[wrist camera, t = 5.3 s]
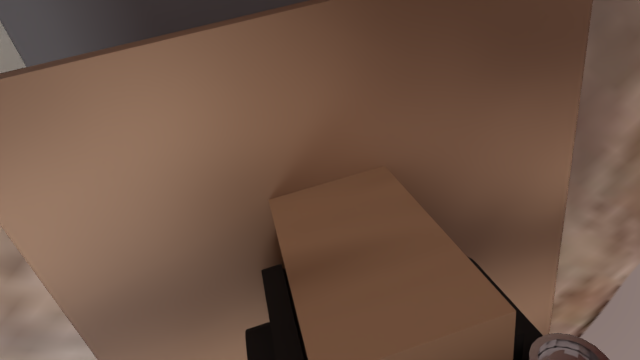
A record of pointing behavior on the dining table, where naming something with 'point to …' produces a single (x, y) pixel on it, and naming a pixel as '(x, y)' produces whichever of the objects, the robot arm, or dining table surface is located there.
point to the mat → (109, 22)
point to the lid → (303, 178)
